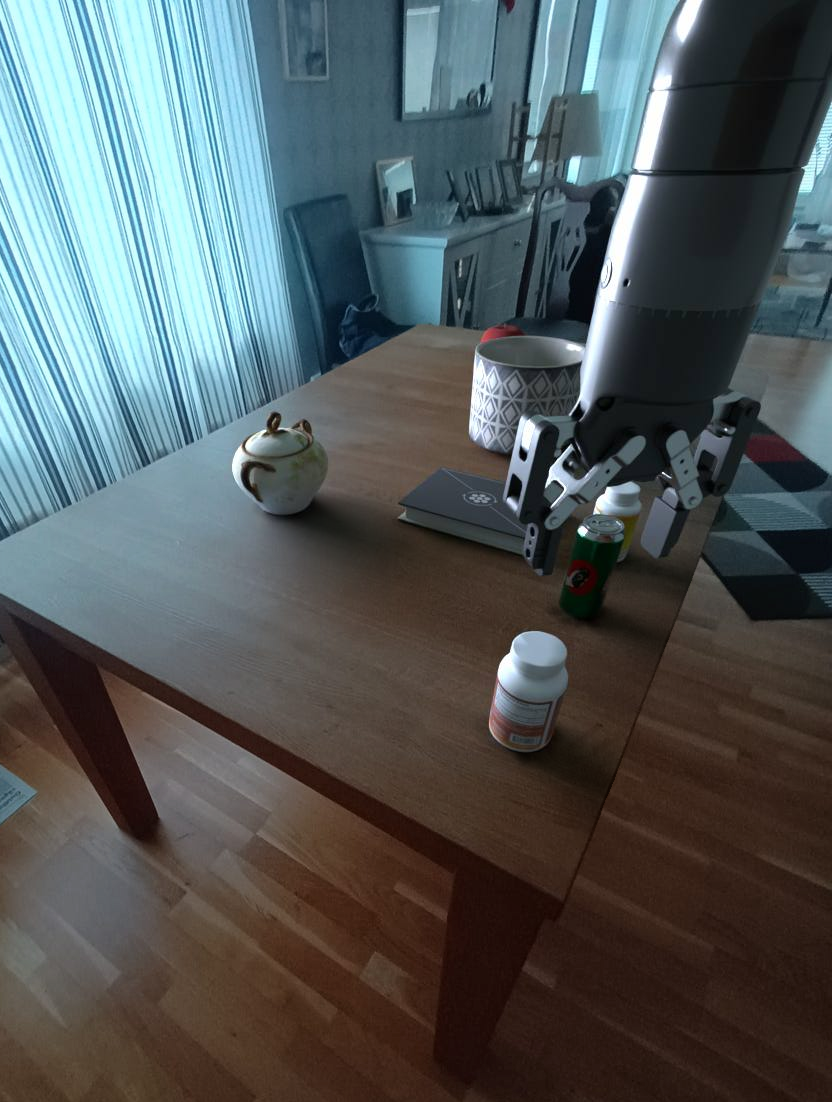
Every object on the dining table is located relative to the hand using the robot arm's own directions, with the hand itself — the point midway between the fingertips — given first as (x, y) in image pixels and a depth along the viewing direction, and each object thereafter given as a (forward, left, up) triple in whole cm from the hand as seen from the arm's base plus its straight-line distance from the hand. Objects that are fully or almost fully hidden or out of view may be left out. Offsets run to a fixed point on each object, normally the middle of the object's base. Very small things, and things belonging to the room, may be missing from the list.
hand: (596, 560), depth 39 cm
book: (+37, -29, -23) cm, 52 cm away
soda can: (+13, -22, -23) cm, 34 cm away
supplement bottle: (+19, -35, -23) cm, 46 cm away
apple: (+84, -81, -23) cm, 119 cm away
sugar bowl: (+60, -7, -23) cm, 64 cm away
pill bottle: (+4, -2, -23) cm, 23 cm away
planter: (+53, -54, -23) cm, 79 cm away
